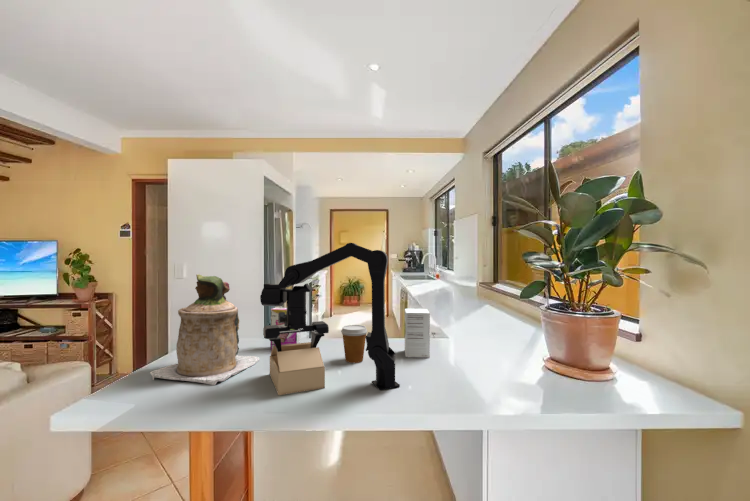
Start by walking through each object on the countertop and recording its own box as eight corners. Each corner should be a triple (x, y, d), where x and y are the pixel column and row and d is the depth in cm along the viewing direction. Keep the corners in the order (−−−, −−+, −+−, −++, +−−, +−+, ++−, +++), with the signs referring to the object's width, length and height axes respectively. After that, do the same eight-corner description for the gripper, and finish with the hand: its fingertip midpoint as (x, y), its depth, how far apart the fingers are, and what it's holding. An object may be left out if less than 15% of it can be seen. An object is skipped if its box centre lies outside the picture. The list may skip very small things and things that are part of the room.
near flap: (323, 367, 101) (324, 366, 101) (279, 373, 96) (279, 372, 96) (318, 348, 107) (318, 347, 106) (276, 353, 102) (276, 351, 101)
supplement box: (404, 350, 141) (404, 308, 141) (427, 350, 140) (427, 308, 141) (405, 357, 131) (405, 312, 131) (430, 357, 131) (430, 312, 131)
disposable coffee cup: (366, 364, 123) (366, 330, 123) (339, 364, 123) (339, 330, 123) (367, 356, 132) (368, 324, 132) (342, 356, 132) (342, 324, 132)
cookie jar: (218, 386, 103) (218, 277, 103) (146, 380, 108) (146, 275, 108) (261, 361, 127) (262, 272, 127) (201, 357, 132) (201, 271, 132)
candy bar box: (269, 350, 141) (269, 309, 141) (274, 346, 146) (274, 307, 146) (296, 350, 140) (297, 309, 140) (300, 347, 145) (300, 307, 145)
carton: (324, 388, 101) (324, 367, 101) (278, 395, 96) (278, 373, 96) (309, 369, 118) (309, 351, 118) (269, 374, 113) (269, 355, 113)
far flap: (270, 355, 113) (270, 354, 113) (309, 351, 118) (308, 349, 118) (273, 347, 108) (273, 345, 108) (313, 343, 113) (313, 341, 113)
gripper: (319, 301, 118) (319, 348, 118) (261, 304, 110) (261, 354, 110) (329, 305, 108) (329, 357, 108) (265, 309, 100) (265, 364, 100)
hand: (296, 358), depth 107 cm, fingers open, 9 cm apart
